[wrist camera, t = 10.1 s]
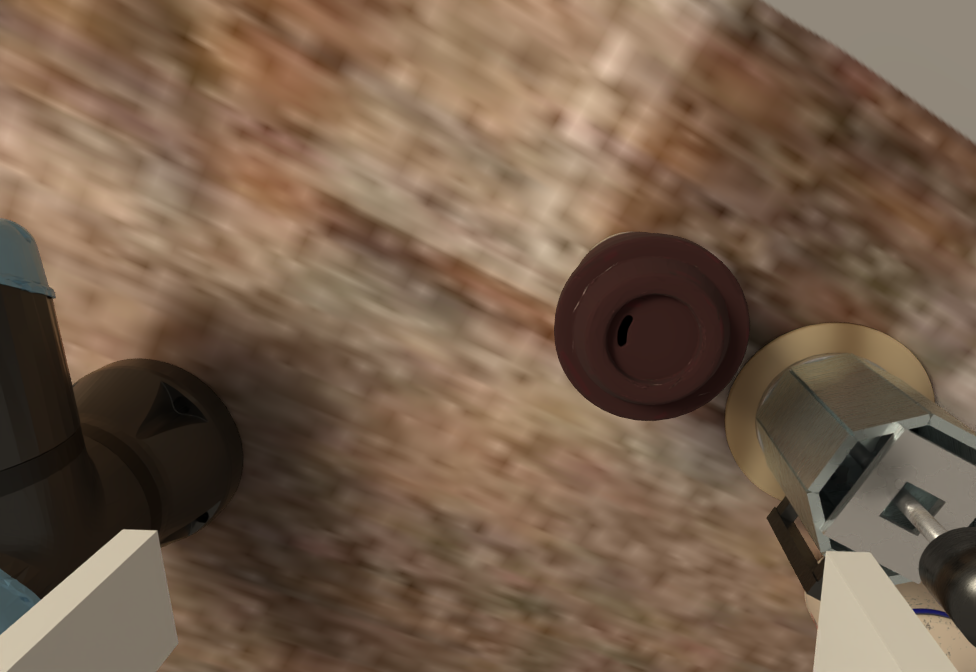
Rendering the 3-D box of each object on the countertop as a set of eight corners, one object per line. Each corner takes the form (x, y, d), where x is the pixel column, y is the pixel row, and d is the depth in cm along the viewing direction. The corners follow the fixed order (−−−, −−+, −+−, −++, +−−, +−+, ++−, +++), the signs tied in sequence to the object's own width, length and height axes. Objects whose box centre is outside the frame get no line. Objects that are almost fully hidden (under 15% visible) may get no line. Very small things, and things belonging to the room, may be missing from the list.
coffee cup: (731, 285, 47) (802, 346, 33) (623, 376, 50) (644, 470, 36) (635, 180, 46) (665, 196, 32) (529, 279, 49) (512, 335, 35)
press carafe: (706, 475, 51) (747, 576, 39) (807, 327, 47) (888, 389, 35) (824, 536, 51) (901, 656, 39) (935, 394, 47) (1057, 478, 35)
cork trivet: (719, 502, 52) (721, 506, 51) (729, 323, 48) (731, 325, 47) (917, 506, 50) (921, 510, 49) (943, 321, 46) (948, 323, 46)
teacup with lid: (778, 612, 54) (832, 734, 43) (835, 518, 51) (910, 622, 40) (920, 669, 54) (1012, 807, 42) (986, 578, 51) (1102, 699, 40)
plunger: (760, 453, 47) (876, 640, 29) (825, 361, 45) (993, 503, 27) (857, 503, 47) (1030, 720, 29) (926, 414, 45) (1159, 590, 27)
